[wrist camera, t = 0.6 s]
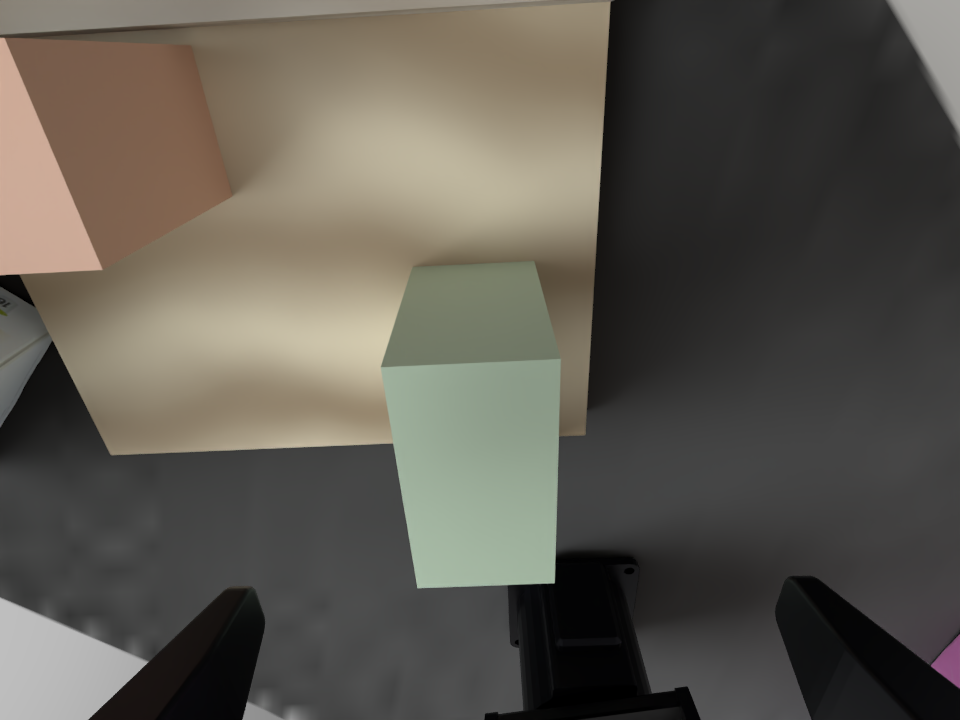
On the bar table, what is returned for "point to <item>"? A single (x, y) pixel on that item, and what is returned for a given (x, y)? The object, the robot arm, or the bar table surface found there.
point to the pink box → (100, 151)
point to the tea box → (18, 347)
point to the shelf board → (334, 208)
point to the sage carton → (476, 424)
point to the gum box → (950, 662)
